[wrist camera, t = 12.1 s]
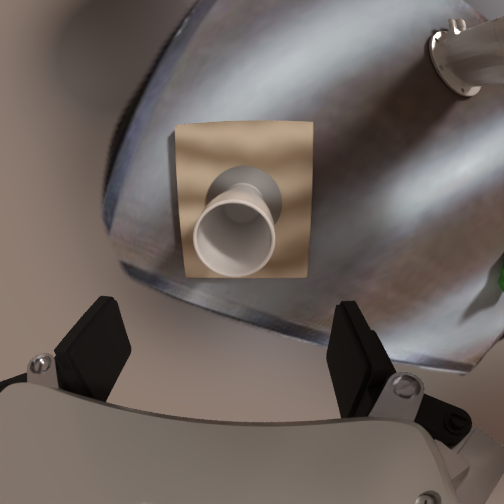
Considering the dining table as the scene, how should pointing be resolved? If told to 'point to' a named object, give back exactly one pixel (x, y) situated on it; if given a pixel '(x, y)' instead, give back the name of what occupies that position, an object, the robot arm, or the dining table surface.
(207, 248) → the drinking glass
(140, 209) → the dining table surface
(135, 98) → the dining table surface
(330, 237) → the dining table surface
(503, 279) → the fruit basket
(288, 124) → the serving board
